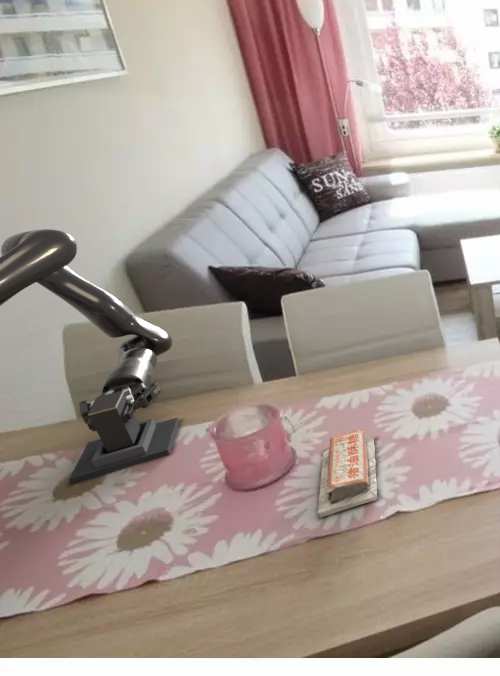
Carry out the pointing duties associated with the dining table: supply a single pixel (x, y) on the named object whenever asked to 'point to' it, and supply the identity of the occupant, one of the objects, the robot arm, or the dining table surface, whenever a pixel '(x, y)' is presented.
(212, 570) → the dining table surface
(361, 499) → the packaged product
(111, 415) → the black box
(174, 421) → the base pad
